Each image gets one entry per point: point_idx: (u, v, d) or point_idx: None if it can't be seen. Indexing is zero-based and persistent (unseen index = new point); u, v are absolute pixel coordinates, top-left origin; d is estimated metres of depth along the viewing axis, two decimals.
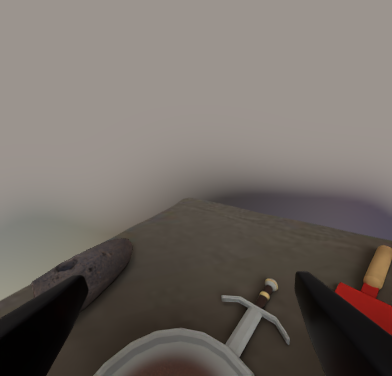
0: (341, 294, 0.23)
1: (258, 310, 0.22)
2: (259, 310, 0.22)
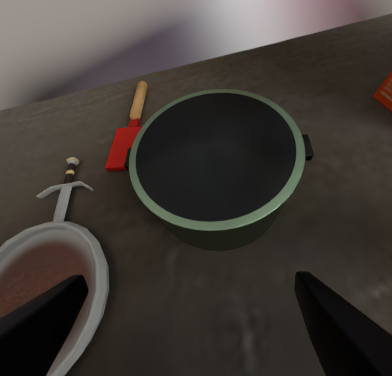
0: (117, 137, 0.31)
1: (67, 186, 0.28)
2: (67, 185, 0.28)
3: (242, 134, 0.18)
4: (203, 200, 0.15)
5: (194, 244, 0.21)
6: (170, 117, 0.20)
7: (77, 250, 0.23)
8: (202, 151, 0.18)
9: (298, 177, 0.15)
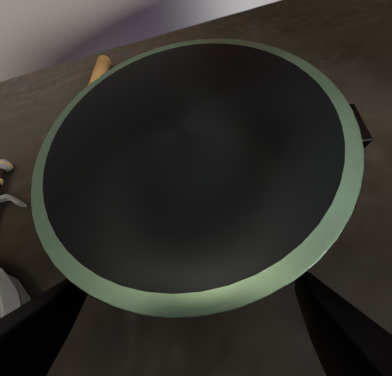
0: None
1: None
2: None
3: (235, 106, 0.10)
4: (160, 240, 0.07)
5: None
6: (115, 86, 0.12)
7: None
8: (164, 140, 0.10)
9: (356, 186, 0.07)
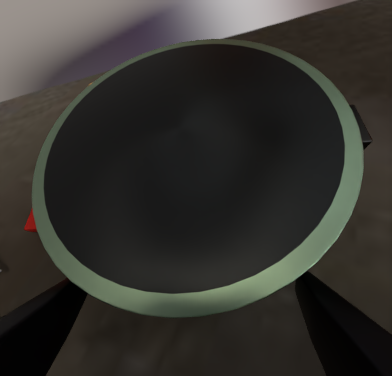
0: None
1: None
2: None
3: (236, 107, 0.10)
4: (160, 240, 0.07)
5: None
6: (116, 86, 0.12)
7: None
8: (164, 140, 0.10)
9: (356, 187, 0.07)
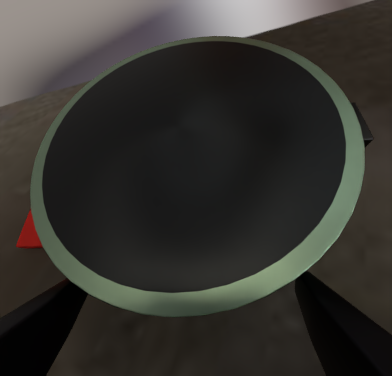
0: None
1: None
2: None
3: (236, 104, 0.10)
4: (159, 239, 0.07)
5: None
6: (115, 84, 0.12)
7: None
8: (163, 138, 0.09)
9: (357, 185, 0.07)
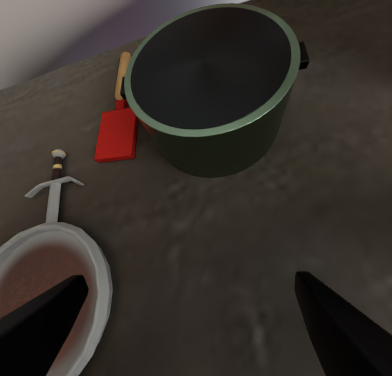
0: (104, 123, 0.28)
1: (55, 182, 0.25)
2: (56, 181, 0.25)
3: (236, 46, 0.17)
4: (199, 111, 0.16)
5: (195, 171, 0.22)
6: (162, 39, 0.20)
7: (75, 251, 0.21)
8: (196, 67, 0.17)
9: (292, 79, 0.15)
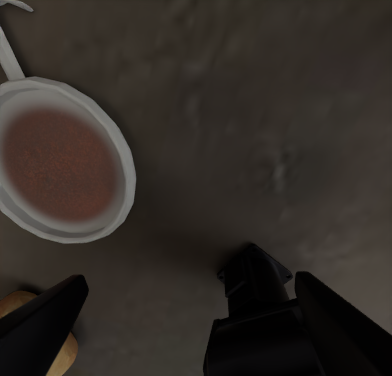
0: None
1: None
2: None
3: None
4: None
5: None
6: None
7: (71, 115, 0.18)
8: None
9: None
